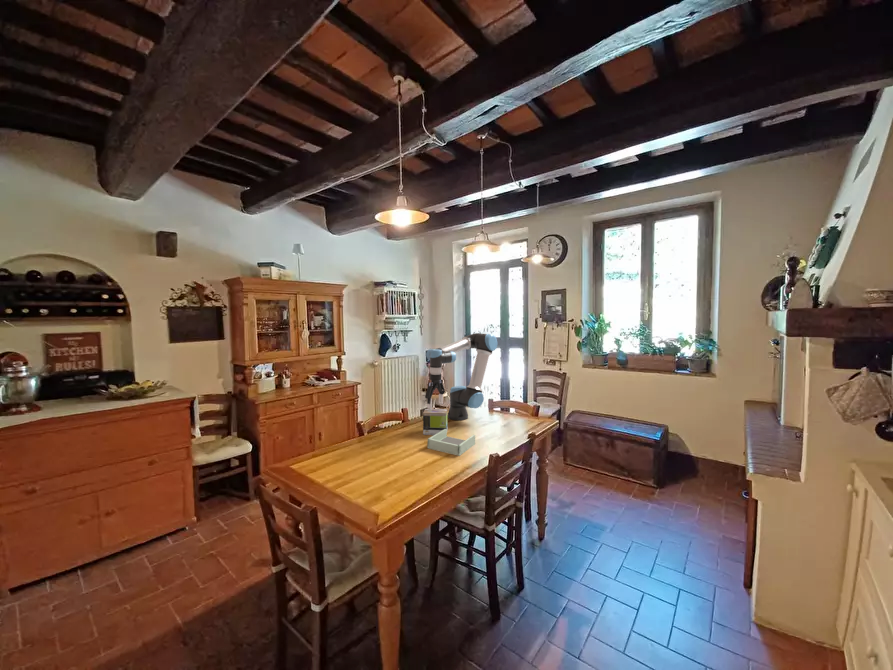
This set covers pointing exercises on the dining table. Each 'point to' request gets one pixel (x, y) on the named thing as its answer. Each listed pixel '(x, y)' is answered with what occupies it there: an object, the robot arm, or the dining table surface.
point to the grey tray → (450, 443)
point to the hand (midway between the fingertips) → (435, 406)
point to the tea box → (434, 421)
